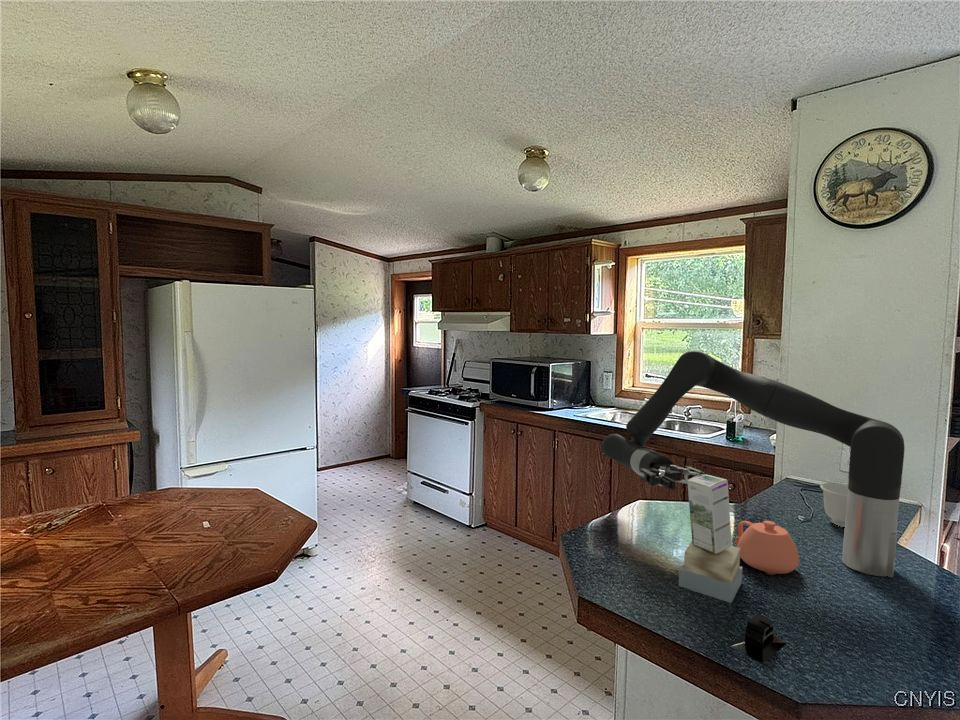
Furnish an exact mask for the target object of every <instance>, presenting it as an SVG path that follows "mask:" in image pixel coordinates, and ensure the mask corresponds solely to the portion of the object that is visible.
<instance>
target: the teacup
mask: <svg viewBox="0 0 960 720" xmlns="http://www.w3.org/2000/svg"><path fill="white" fill-rule="evenodd" d="M819 487H820V488H821V489H822V495H823V507H824V511H825V513H826V516H827V517H829V518H830V519H831V520H830V523H831V522H832V523H834V524H836V525H838V526H837V527H839V526H841V527H840V528H842V527H845V519H846V507H847V496H848V484H847V483H846V482H841V483H839V482H825V483H822V484H820V485H819ZM832 523H831V524H832ZM834 524H833V525H834ZM836 525H835V526H836Z"/></svg>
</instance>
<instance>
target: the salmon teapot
mask: <svg viewBox="0 0 960 720" xmlns="http://www.w3.org/2000/svg"><path fill="white" fill-rule="evenodd" d="M744 525H746V526H748V528H746V529H745V531H744ZM737 531H738V532H737V533H738V536H736V537H735V538H734V542H735V544H736V545H737V546H736V547H739V548H740V560H741V559H742V561H743V562H744V563H745V564H746V565H748V566H750V567H751V568H754V569H756V570H759V571H762V572H764V573H765V574H767V575H771V576H774V575H776V574H778V575H782V574H789V573H791V572H793V571H795V569H797V568H798V567H799V565H800V555H799V551H798V548H797V546H796V543H795V541H794V540H793V538H792V536H791V535H790V533H789V532H788V531H787V530H786V529H785V528H784V527H781V526H779V525H776V522H774V521H772V520H771V521H770V520H763V522H754V523H753V522H751V521H749V520H743V521H740V522H739V523H738V525H737Z"/></svg>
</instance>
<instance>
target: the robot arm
mask: <svg viewBox="0 0 960 720" xmlns="http://www.w3.org/2000/svg"><path fill="white" fill-rule="evenodd" d="M695 387H701V388H705V389H709V390H712V391H714V392H716V393H717V392H718V393H720V394H723V395H725V396H728V397H729V398H731V399H732V400H733V399H734V400H735V401H736V402H738V403H740V404H741V405H743V406H744V407H746V408H748V409H749V410H751V411H752V412H754V413H757V414H759V415H761V416H764V417H765V418H768V419H770V420H772V421H775V422H777V423H779V424H783V425H785V426H789V427H792V428H795V429H800V430H804V431H809V432H812V433H817V434H820V435H823V436H826V437H828V438H831V439H833V440H835V441H837V442H839V443H841V444H843V445H846V446H847V447H849V448H850V452H849V463H848V465H849V466H848V478H847V480H848V496H847V507H846V519H845V528H844V531H843V532H844V533H843V543H842V555H841V562H842V563H843V564H844V565H845V566H846V567H848V568H850V569H852V570H853V571H857V572H858V573H859V572H860V573H862V574H866V575H871V576H875V577H876V576H877V577H887V576H888V578H892V577H893V578H894V574H895V573H894V572H895V562H896V561H895V560H896V553H897V552H896V551H897V540H898V534H897V529H898V528H897V527H898V517H899V508H900V507H899V506H900V498H901V497H900V496H901V489H902V480H903V469H904V460H905V440H904V437H903V434H902V433H901V432H900V430H898V428H896V427H895V426H894V425H892V424H891V423H889V422H885V421H883V420H880V419H879V420H878V419H875V418H872V417H867V416H864V415H861V414H857V413H855V412H852V411H848V410H845V409H842V408H840V407H837V406H835V405H833V404H831V403H828V402H826V401H825V400H823V399H821V398H819V397H816V396H815V395H814V396H813V395H811V394H810V393H807V392H805V391H802V390H800V389H798V388H796V387H793V386H790V385H788V384H786V383H783V382H780V381H777V380H774V379H771V378H768V377H764V376H762V375H757V374H753V373H748V372H744V371H741V370H738V369H736V368H734V367H732V366H730V365H727V364H726V363H724V362H721V361H719V360H718V359H716V358H714V357H712V356H711V355H709V354H707V353H705V352H702V351H700V350H690V351H689V350H688V351H687V352H684V353H682V354H681V355H680V357H678V359H677V360H676V363H675V364H674V365H673V367H672V368H671V369H670V371H669V373H668V374H667V376H666V377H665V379H664V380H663V381H662V383H661V385H660V386H659V387H658V388H657V390H656V391H655V392H654V393H653V394H652V395H651V396H650V398H649V399H648V400H647V401H646V402H645V404H643V405H642V407H641V408H640V409H639V410H638V411H637V412H636V413H635V414H634V415H633V416H632V417H631V418H630V420H628V422H627V423H626V425H625V429H626V431H627V432H628V433H629V435H630V436H631V439H630V440H629V439H627V438H625V437H623V436H622V435H620V434H618V433H611V434H607V436H605V437H604V438H603V441H602V442H601V450H602V452H603V454H604V455H605V456H606V457H608V458H609V459H611V460H613V461H615V462H617V463H618V464H620V465H621V466H623V467H625V466H626V468H628V469H629V470H631V471H633V472H635V473H636V474H637V475H638V476H639V477H640V478H639V479H640V480H641V481H644V482H645V483H647V484H648V485H650V486H654V487H655V486H656V485H657V486H659V487H664V488H666V489H669V490H670V491H675V490H676V485H677V484H676V483H680V484H684V485H685V484H686V485H688V480H689V479H691V478H693V477H695V476H697V475H701V474H705V472H704V471H703V470H700V469H698V468H694V467H692V466H690V465H685V468H684V467H681V466H678V465H675V464H674V462H673V461H672V459H671V458H669V456H667V455H665V454H662V453H660V452H658V451H656V450H653V449H652V448H651V449H650V448H646V447H644V446H645V445H646V443H647V441H648V439H649V438H650V437H651V436H652V435H653V434H654V433H655V432H656V431H657V430H658V429H659V428H660V426H662V424H663V423H664V421H665V420H667V418H668V416H669V415H670V413H671V412H672V410H673V408H674V407H675V406H676V404H677V403H678V402H679V401H680V400H681V399H682V398H683V397H684V396H685V395H686V394H688V392H690V390H692V389H693V388H695ZM683 475H684V479H682V478H683Z"/></svg>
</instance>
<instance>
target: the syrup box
mask: <svg viewBox="0 0 960 720" xmlns="http://www.w3.org/2000/svg"><path fill="white" fill-rule="evenodd" d="M687 492H688V505H689V507H688V508H689V519H690V530H691V542H692V545H694V546H697V547H699V548H702V549H704V550H707V551H709V552H711V553H714V554H717V553H719V552H721V551H724V550H725V549H727V548H729V547H731V546H733V541H732V540H733V539H732V529H731V528H732V527H731V515H730V512H731V511H730V501H729V499H730V497H729V494H730V493H729V483H728V479H726V478H722V477H718V476H714V475H710V474H707V473H704V474H701V475H697V476H695V477H693V478H690V479H689V480H688V483H687Z"/></svg>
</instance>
